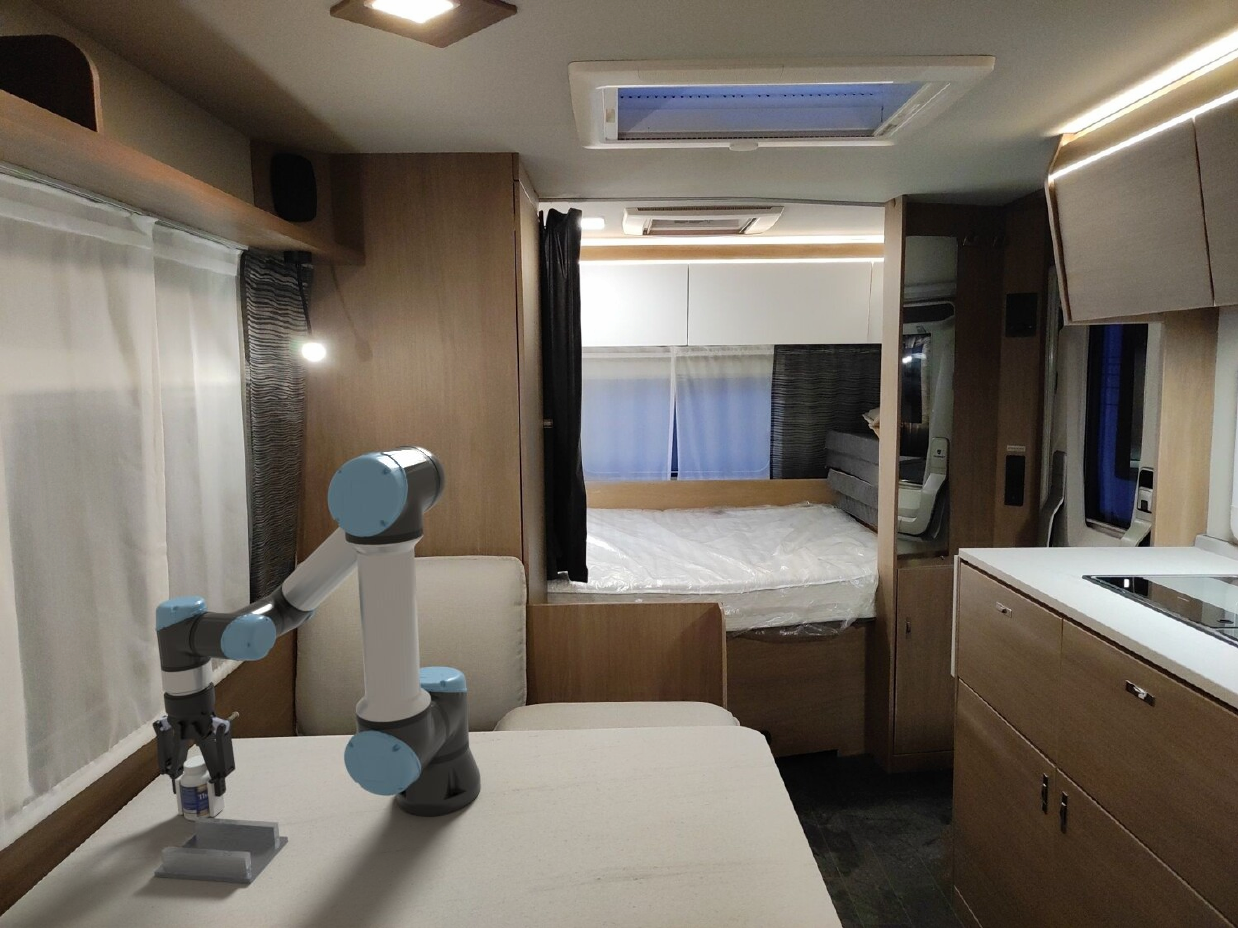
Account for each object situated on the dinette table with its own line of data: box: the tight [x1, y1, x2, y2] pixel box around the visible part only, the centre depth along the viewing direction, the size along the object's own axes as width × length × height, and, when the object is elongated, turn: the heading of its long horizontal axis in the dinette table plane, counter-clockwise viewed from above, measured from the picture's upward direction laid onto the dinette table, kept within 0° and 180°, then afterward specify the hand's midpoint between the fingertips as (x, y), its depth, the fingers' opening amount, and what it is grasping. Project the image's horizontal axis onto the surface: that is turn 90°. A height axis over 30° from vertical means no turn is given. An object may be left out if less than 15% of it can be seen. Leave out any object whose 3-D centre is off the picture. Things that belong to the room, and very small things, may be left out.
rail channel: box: [153, 817, 289, 885], centre depth 116 cm, size 16×10×4 cm, turn 83°
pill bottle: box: [181, 754, 211, 821], centre depth 128 cm, size 5×5×10 cm
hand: (201, 810), depth 129 cm, fingers closed on pill bottle, 5 cm apart
